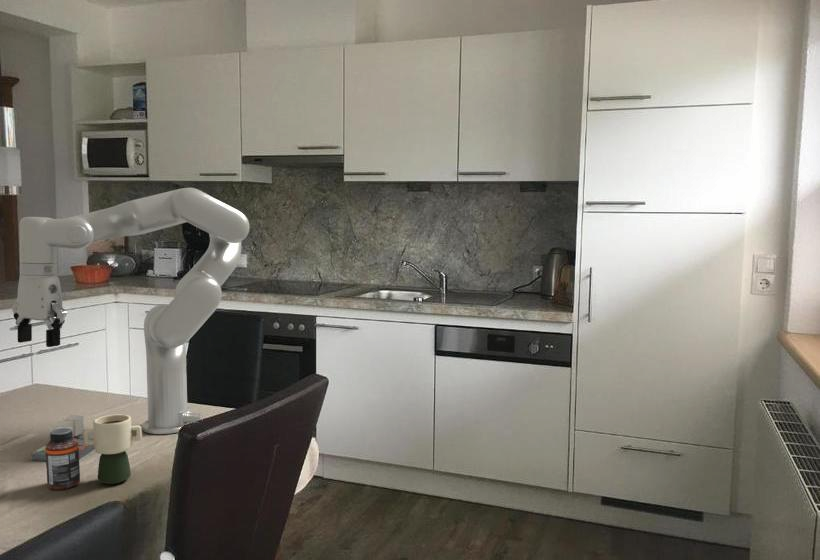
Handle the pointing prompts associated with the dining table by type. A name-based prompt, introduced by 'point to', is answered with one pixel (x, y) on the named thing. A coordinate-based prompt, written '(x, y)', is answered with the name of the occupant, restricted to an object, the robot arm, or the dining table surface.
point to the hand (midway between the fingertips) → (38, 343)
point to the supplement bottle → (62, 460)
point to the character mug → (112, 446)
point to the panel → (83, 449)
